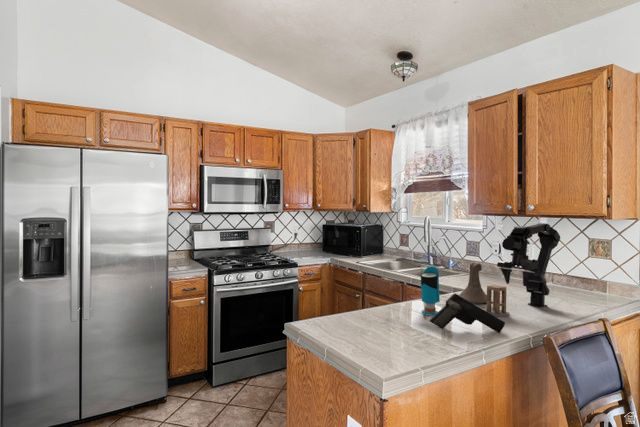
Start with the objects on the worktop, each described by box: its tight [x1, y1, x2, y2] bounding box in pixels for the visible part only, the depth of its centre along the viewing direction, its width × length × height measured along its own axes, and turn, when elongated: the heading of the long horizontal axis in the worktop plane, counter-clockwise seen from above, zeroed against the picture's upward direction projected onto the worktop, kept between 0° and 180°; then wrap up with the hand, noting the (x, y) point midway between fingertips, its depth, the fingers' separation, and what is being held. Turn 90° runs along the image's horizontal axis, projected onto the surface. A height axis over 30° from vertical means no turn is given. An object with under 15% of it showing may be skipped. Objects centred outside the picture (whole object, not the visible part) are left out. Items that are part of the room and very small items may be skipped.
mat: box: [484, 308, 511, 318], centre depth 172 cm, size 11×11×1 cm
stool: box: [486, 284, 507, 315], centre depth 172 cm, size 6×6×12 cm
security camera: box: [420, 266, 441, 316], centre depth 171 cm, size 8×21×10 cm
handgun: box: [429, 293, 506, 334], centre depth 149 cm, size 2×24×15 cm, turn 78°
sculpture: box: [458, 261, 487, 305], centre depth 196 cm, size 17×17×20 cm
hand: (516, 285), depth 176 cm, fingers open, 9 cm apart
